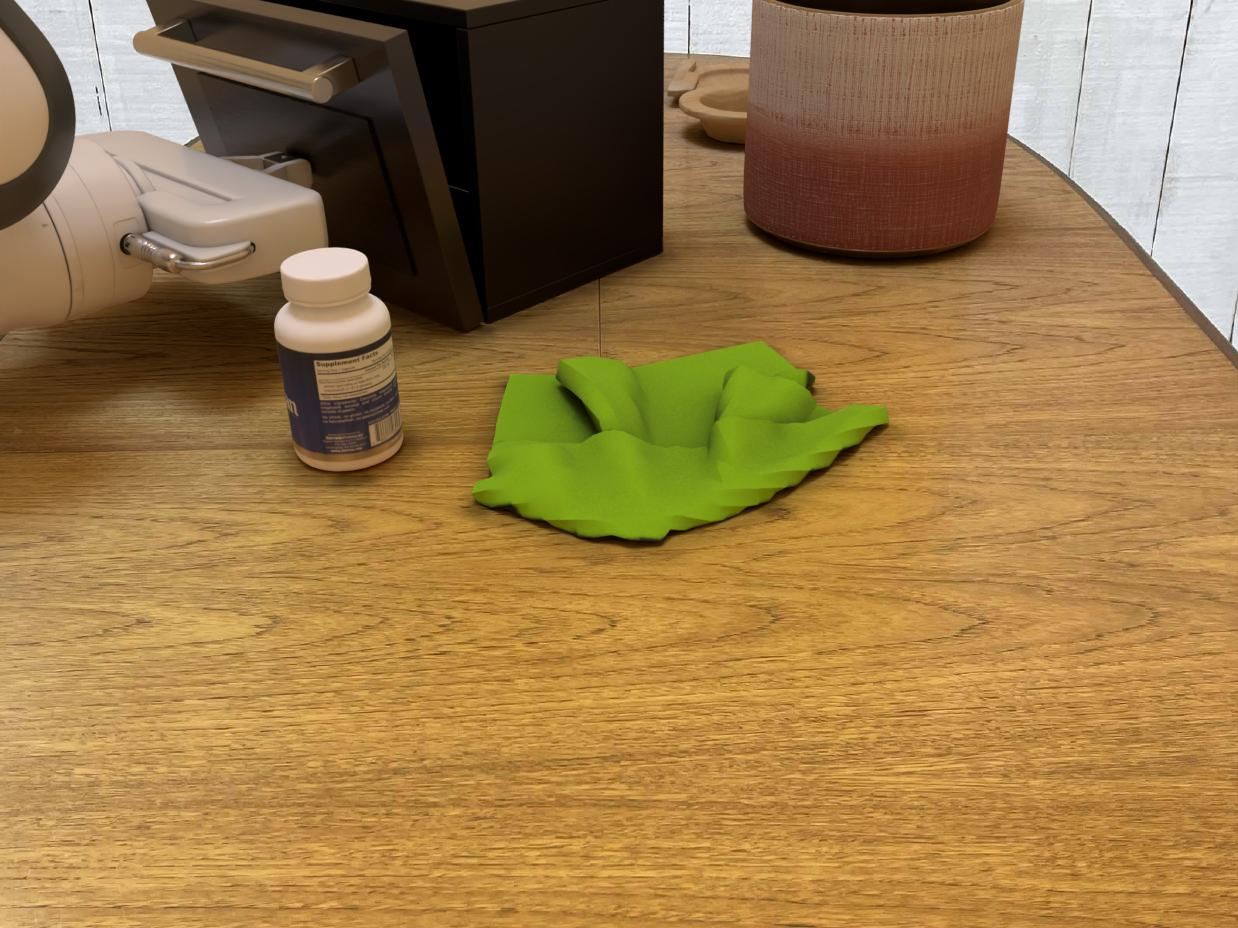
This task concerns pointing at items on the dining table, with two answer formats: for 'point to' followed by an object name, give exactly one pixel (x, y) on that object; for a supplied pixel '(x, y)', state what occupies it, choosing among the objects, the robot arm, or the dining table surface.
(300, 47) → the oven door
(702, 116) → the tableware set
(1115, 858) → the dining table surface
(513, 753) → the dining table surface
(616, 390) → the cloth
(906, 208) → the planter
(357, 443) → the pill bottle
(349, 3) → the oven
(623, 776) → the dining table surface
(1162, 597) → the dining table surface
